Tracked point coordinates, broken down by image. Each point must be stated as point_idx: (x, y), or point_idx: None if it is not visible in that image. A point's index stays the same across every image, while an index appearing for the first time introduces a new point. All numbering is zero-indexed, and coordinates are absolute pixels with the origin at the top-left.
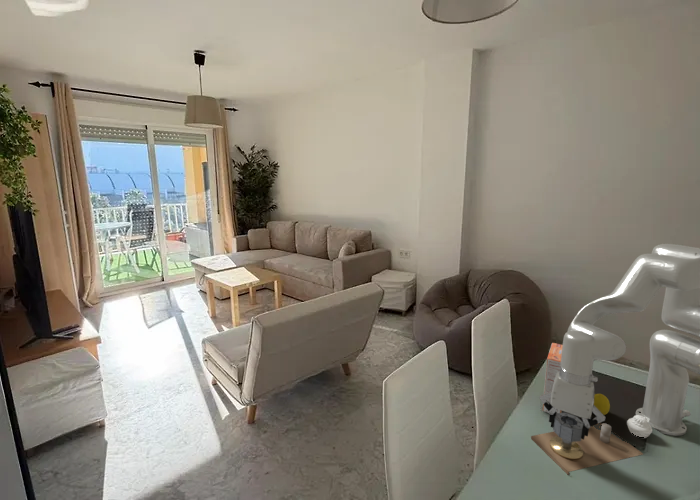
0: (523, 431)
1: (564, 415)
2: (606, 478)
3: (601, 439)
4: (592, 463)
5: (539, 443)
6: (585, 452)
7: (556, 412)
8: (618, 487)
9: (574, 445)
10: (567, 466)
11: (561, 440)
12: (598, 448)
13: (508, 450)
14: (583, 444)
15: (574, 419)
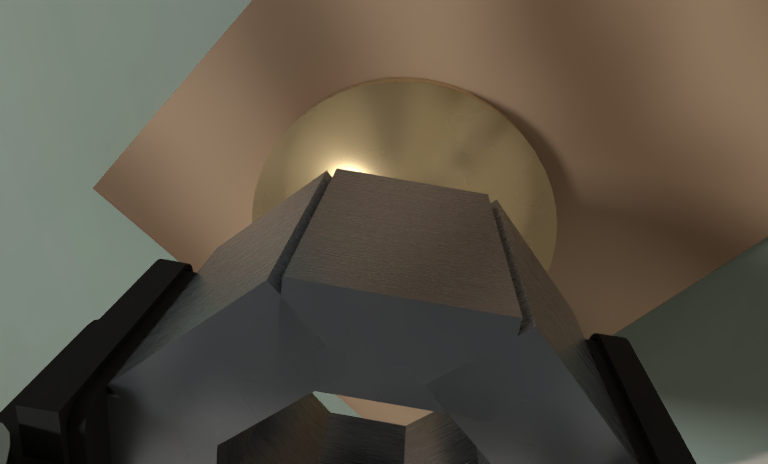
0: (19, 94)
1: (266, 400)
2: (684, 367)
3: None
4: (613, 309)
5: (181, 260)
6: (581, 191)
7: (92, 415)
8: (744, 415)
9: (482, 178)
10: (410, 418)
11: (356, 161)
12: (746, 46)
13: (21, 385)
14: (587, 59)
15: (468, 432)
